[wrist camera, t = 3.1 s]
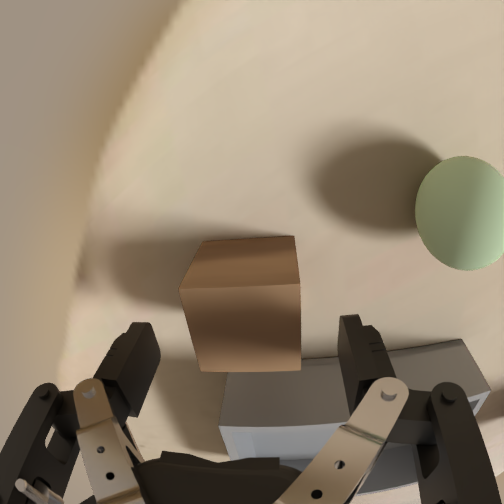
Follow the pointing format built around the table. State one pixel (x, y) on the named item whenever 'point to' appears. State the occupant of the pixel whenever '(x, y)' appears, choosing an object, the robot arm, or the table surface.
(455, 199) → the ball
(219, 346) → the block
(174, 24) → the table surface
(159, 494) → the robot arm
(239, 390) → the tub
